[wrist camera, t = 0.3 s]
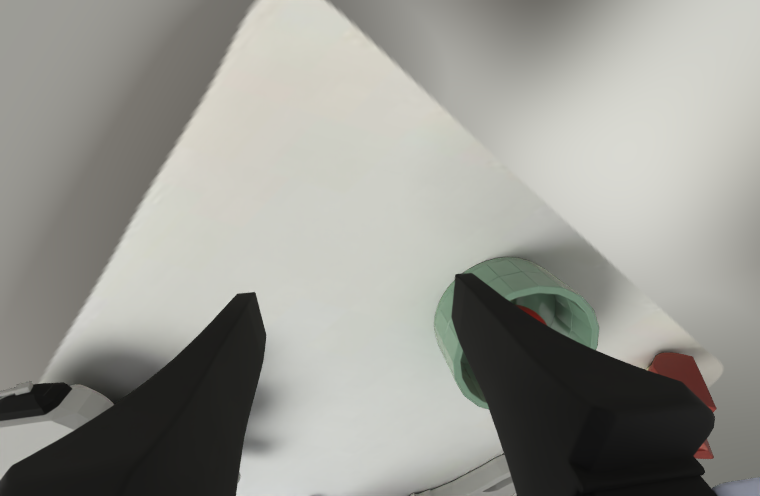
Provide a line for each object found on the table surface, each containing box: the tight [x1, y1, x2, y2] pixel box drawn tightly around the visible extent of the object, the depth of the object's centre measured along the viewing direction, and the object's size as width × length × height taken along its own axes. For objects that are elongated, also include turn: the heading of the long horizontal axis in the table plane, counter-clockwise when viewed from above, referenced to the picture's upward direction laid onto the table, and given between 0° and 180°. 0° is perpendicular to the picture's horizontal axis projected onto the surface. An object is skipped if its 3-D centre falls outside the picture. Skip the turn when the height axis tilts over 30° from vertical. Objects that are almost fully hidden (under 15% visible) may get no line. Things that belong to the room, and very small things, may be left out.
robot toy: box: [0, 381, 240, 482], centre depth 24 cm, size 12×4×15 cm
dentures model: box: [646, 352, 716, 459], centre depth 30 cm, size 6×4×8 cm
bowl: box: [434, 257, 599, 409], centre depth 25 cm, size 10×10×4 cm
